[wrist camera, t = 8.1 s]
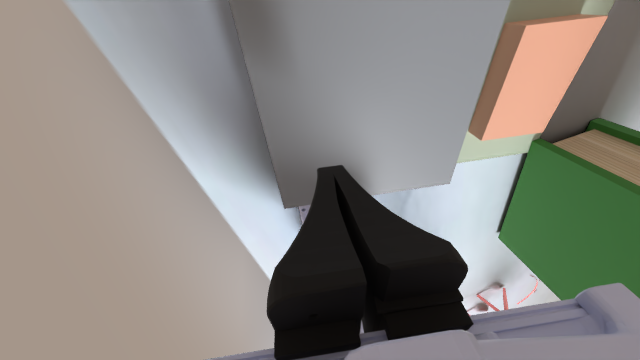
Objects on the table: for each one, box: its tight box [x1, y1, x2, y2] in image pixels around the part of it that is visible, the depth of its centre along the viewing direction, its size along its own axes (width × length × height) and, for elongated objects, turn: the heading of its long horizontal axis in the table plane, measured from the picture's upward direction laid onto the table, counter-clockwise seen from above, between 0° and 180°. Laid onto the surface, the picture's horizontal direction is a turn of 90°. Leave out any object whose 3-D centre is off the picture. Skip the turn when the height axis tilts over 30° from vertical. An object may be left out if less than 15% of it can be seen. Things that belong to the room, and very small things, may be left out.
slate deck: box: [229, 0, 510, 209], centre depth 19 cm, size 16×16×4 cm
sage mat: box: [457, 0, 616, 163], centre depth 21 cm, size 17×11×1 cm, turn 5°
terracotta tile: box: [468, 14, 608, 141], centre depth 20 cm, size 9×6×2 cm, turn 5°
